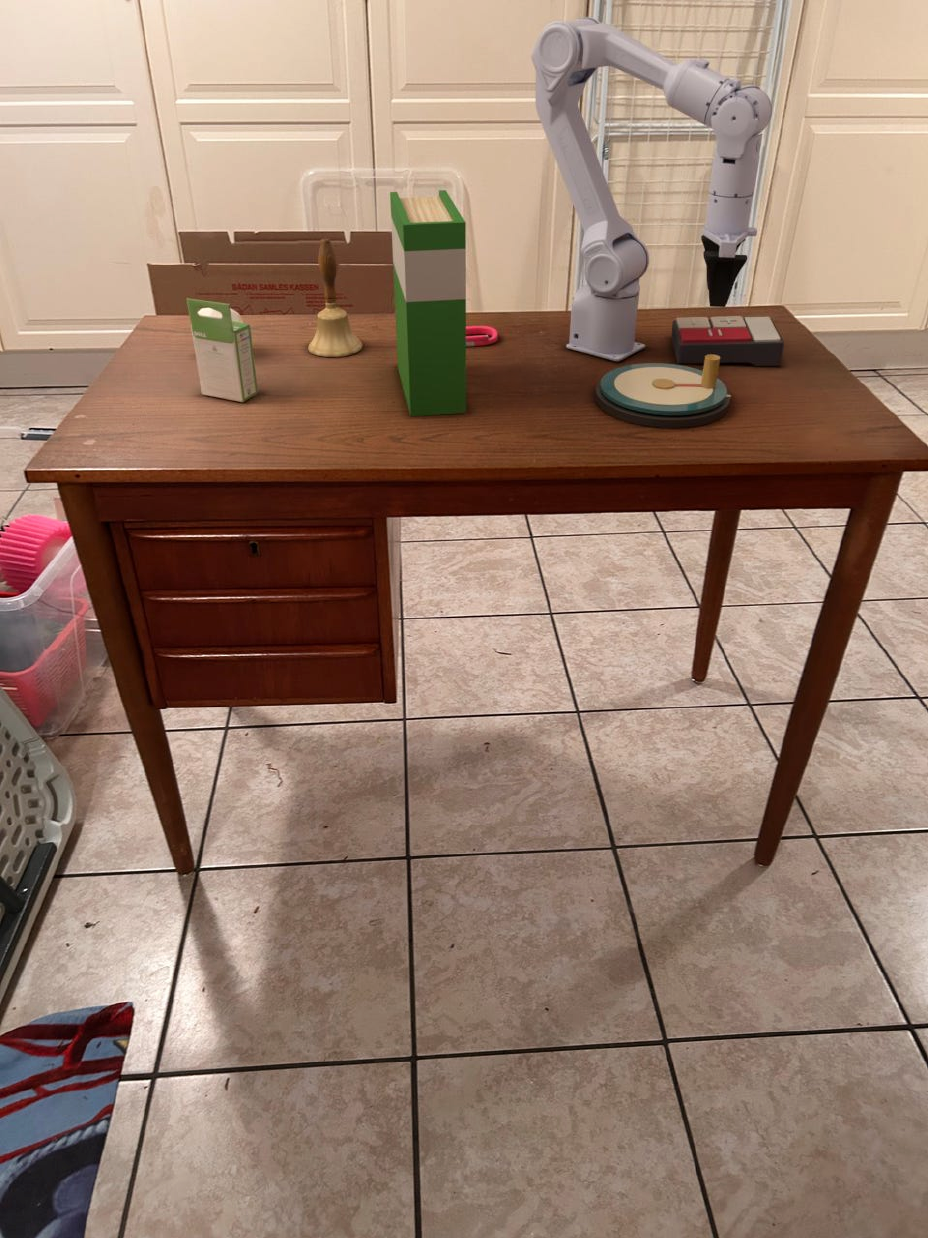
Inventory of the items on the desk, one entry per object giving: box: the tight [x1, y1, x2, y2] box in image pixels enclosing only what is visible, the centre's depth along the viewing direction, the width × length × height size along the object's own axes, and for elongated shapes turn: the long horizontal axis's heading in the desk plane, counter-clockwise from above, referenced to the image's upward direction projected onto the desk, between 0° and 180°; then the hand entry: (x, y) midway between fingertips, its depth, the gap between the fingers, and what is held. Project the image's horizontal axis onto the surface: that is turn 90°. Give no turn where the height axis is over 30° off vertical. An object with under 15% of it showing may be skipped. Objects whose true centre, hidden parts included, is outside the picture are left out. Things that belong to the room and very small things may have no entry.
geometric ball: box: [198, 307, 244, 323], centre depth 142 cm, size 8×8×8 cm
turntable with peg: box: [600, 354, 728, 415], centre depth 128 cm, size 17×17×5 cm
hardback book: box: [389, 189, 467, 417], centre depth 127 cm, size 18×7×24 cm, turn 9°
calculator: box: [670, 315, 785, 367], centre depth 144 cm, size 11×4×15 cm
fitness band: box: [466, 325, 499, 348], centre depth 149 cm, size 8×6×2 cm
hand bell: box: [307, 238, 364, 358], centre depth 142 cm, size 8×8×16 cm
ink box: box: [186, 297, 259, 403], centre depth 128 cm, size 7×4×13 cm, turn 65°
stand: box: [594, 380, 732, 429], centre depth 130 cm, size 18×18×1 cm
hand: (716, 297), depth 133 cm, fingers open, 7 cm apart
